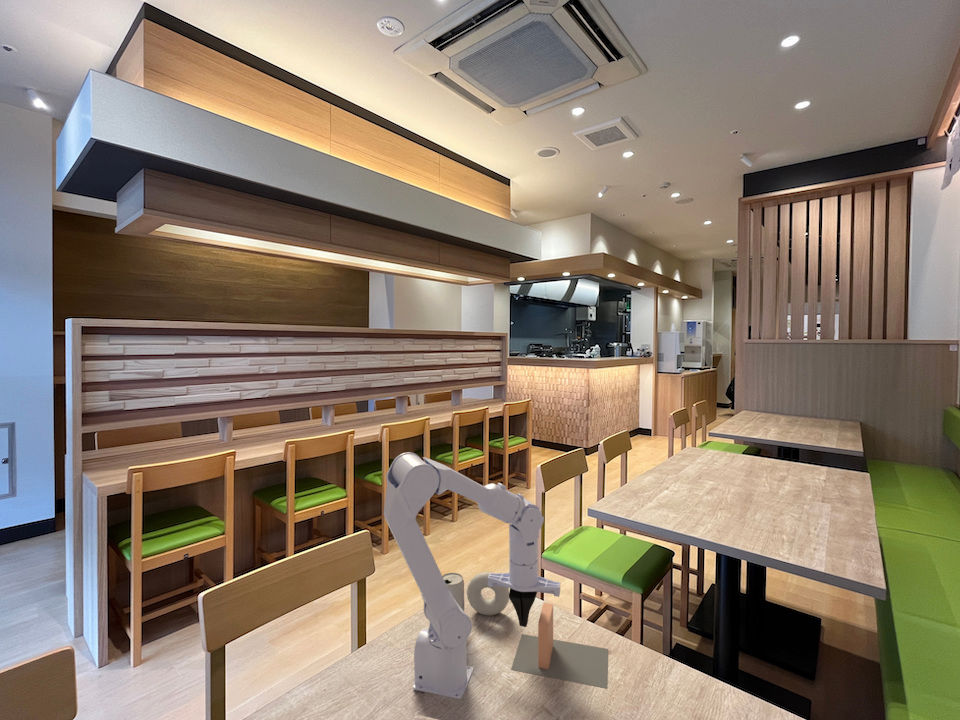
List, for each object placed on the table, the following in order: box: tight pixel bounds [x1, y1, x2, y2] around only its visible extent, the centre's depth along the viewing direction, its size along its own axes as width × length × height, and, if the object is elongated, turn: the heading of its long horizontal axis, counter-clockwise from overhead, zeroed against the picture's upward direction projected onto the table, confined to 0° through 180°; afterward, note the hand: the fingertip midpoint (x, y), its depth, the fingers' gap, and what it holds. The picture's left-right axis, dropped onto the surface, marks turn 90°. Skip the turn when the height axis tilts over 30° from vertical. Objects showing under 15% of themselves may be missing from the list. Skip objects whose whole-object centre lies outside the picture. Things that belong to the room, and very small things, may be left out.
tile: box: [537, 602, 554, 669], centre depth 94 cm, size 2×7×9 cm, turn 164°
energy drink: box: [442, 572, 465, 612], centre depth 103 cm, size 5×5×12 cm
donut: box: [466, 571, 510, 617], centre depth 109 cm, size 10×4×10 cm, turn 82°
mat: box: [510, 633, 609, 689], centre depth 94 cm, size 18×11×1 cm, turn 74°
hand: (523, 623), depth 95 cm, fingers closed
